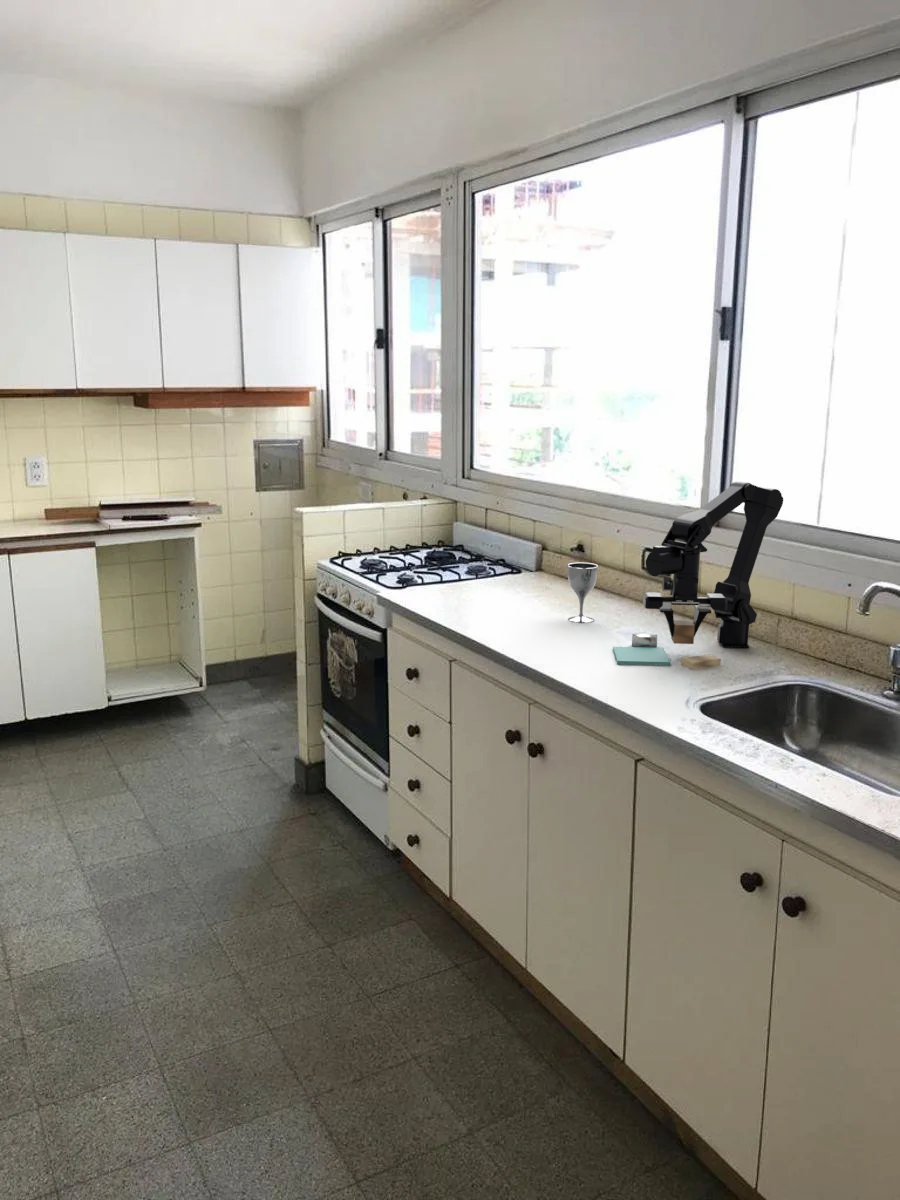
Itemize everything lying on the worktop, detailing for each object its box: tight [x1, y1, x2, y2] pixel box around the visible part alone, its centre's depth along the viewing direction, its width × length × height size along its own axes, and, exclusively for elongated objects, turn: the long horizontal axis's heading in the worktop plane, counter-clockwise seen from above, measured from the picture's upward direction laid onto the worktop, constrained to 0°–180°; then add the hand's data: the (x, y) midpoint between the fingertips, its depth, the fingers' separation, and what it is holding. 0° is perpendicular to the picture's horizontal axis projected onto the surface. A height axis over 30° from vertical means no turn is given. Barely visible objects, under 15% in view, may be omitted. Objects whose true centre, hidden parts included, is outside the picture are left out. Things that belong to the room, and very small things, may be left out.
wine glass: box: [567, 562, 599, 624], centre depth 262 cm, size 8×8×15 cm
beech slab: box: [680, 653, 722, 671], centre depth 223 cm, size 8×4×2 cm, turn 114°
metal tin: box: [631, 631, 658, 648], centre depth 238 cm, size 6×6×3 cm
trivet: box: [612, 646, 672, 666], centre depth 229 cm, size 12×12×1 cm
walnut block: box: [670, 619, 695, 645], centre depth 230 cm, size 4×4×4 cm
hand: (682, 636), depth 230 cm, fingers closed on walnut block, 4 cm apart
